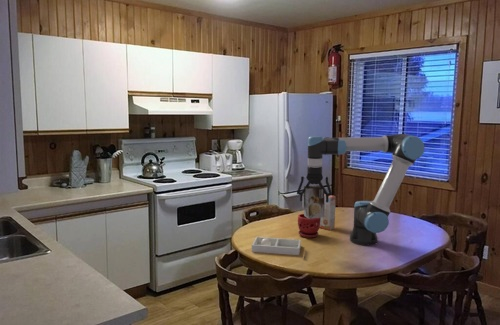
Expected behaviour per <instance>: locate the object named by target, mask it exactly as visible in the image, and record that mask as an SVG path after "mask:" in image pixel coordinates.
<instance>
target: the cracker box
mask: <svg viewBox="0 0 500 325" xmlns="http://www.w3.org/2000/svg"><path fill="white" fill-rule="evenodd" d="M325 196H326V195H325V193H324V203H325ZM336 200H337V199H336V196H335V195H333V194H332V195H330V196H329V197H328V202H326V209H324V217H321V219H320V227H319V229H323V230H327V231H331V230H334V229H335V224H336V222H335V221H336V220H335V219H336ZM316 225H317V223H316Z"/></svg>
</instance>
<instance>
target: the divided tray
mask: <svg viewBox="0 0 500 325" xmlns="http://www.w3.org/2000/svg"><path fill="white" fill-rule="evenodd" d="M264 238H267V239H269V240H270V242H271V244H270V246H265V245H261V241H262V239H264ZM301 244H302V240H301V239H293V238H281V237H279V238H278V237H266V236H265V237H264V236H255V239H254V240H253V242H252V244H251V252H253V253H265V254H279V255H289V256H290V255H294V256H300V252H301V247H302V245H301Z"/></svg>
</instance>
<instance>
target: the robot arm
mask: <svg viewBox="0 0 500 325" xmlns="http://www.w3.org/2000/svg"><path fill="white" fill-rule="evenodd" d="M347 152H382V153H384V154H391V156H392V162H391V164H390V166H389V168H388V170H387V172H386V174H385V176H384V179H383V181H382V183H381V184H380V186H379V189H378V191H377V193H376V195H375V197H374V199H373V200H357V201H355V203H354V208H353V210H354V211H353V227H352V231H351V233H350V234H349V235H350V236H349V241H350V242H351V243H353V244H355V245H360V246H374V245H377V244H376V243H378V239H379V238H378V235H377V234H379V233H382V232H384V231H385V230H386V229H387V228H388V226H389V224H390V221H389V216H390V214H391V210H390V207H391V205H392V202H393V201H394V198H395V196H396V194H397V192H398V190H399V189H400V186H401V184H402V182H403V180H404V178H405V177H406V173H407V171H408V170H409V168H410V166H413V165H414V164H415V162H416V160H417V159H419V158H421V157H422V156H423V154H424V153H425V144H424V141H423V140H422V139H421V138H419V137H418V136H416V135H411V134H406V133H398V134H397V133H396V134H386V135H385V134H384V135H382V136H376V137H375V136H372V137H371V136H366V137H364V136H363V137H361V136H360V137H359V136H357V137H352V136H350V137H328V136H327V137H326V136H325V137H323V136H321V135H310V136H309V137H308V138H307V167H306V168H307V169H306V170H307V171H306V172H307V174H306V175H301V177H300V178H301V179H300V180H301V181H300V182H299V186H298V189H297V191H296V194H297V195H299V201H300V202H302V203H301V204H302V205H301V208H302V209H304V192H305V189H306V187H308V186H311V185H320V187H324V185H323V183H322V180H323V181H325V186H326V188H327V189H326V188H325V187H324V188H323V192H324V194H325V195H326V196H325V203H324V209H326V202H328V197H329V196H330V195H332V196H333V192H332V188H331V186H330V183H329V176H328V175H326V176H323V156H326V155H327V156H328V155H332V156H333V155H338V156H340V155H344V154H346V153H347ZM305 180H307V183H306V184H305V185H304V186H305V187H304V186H303V184H304V181H305ZM302 186H303V189H302Z"/></svg>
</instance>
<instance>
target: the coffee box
mask: <svg viewBox="0 0 500 325" xmlns="http://www.w3.org/2000/svg"><path fill="white" fill-rule="evenodd" d="M305 186H306V185H304V186H303V188H304V187H305ZM323 188H325V187H320V185H319V184H314V185H309V186H308V187H306V189H305V192H304V193H303V195H304V208H303V214H304V216H305V217H307V218H308V219H311V218H321V217H324V194H325V193H324V192H323Z"/></svg>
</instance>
